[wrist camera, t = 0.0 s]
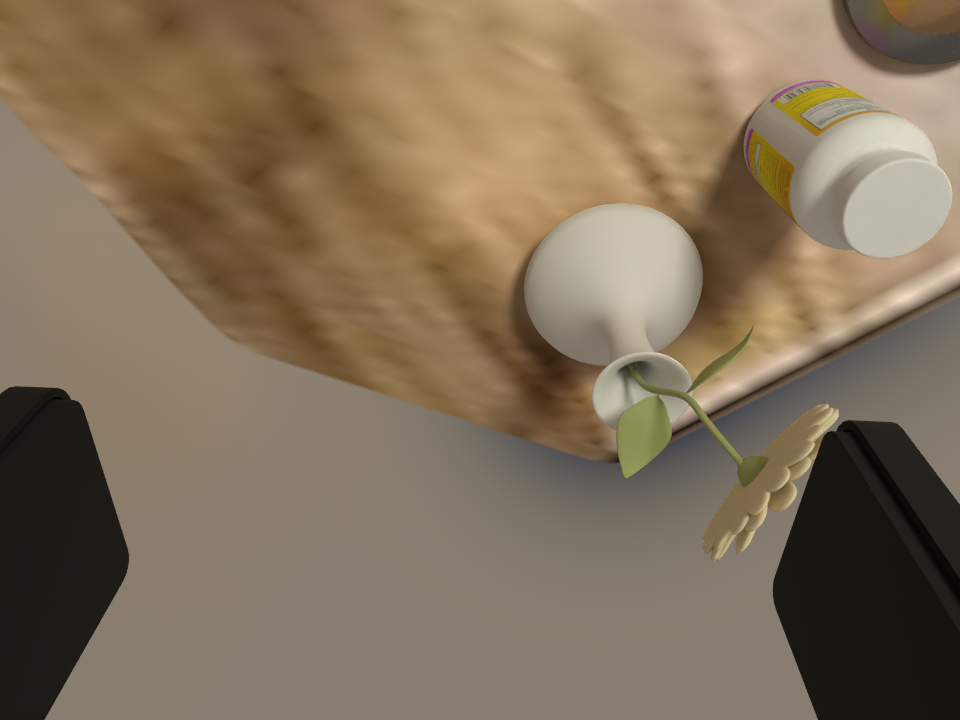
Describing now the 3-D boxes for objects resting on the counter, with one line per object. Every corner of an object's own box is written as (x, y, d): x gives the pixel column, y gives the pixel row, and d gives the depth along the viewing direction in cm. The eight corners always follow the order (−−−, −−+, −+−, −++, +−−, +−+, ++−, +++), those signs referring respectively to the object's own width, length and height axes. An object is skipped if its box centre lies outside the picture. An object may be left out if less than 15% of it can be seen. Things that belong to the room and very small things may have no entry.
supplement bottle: (799, 209, 46) (891, 304, 35) (717, 154, 44) (785, 235, 33) (882, 115, 43) (1010, 187, 32) (796, 52, 41) (901, 105, 30)
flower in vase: (590, 378, 53) (646, 696, 32) (488, 266, 49) (473, 548, 27) (752, 273, 48) (945, 563, 27) (655, 138, 44) (795, 359, 23)
